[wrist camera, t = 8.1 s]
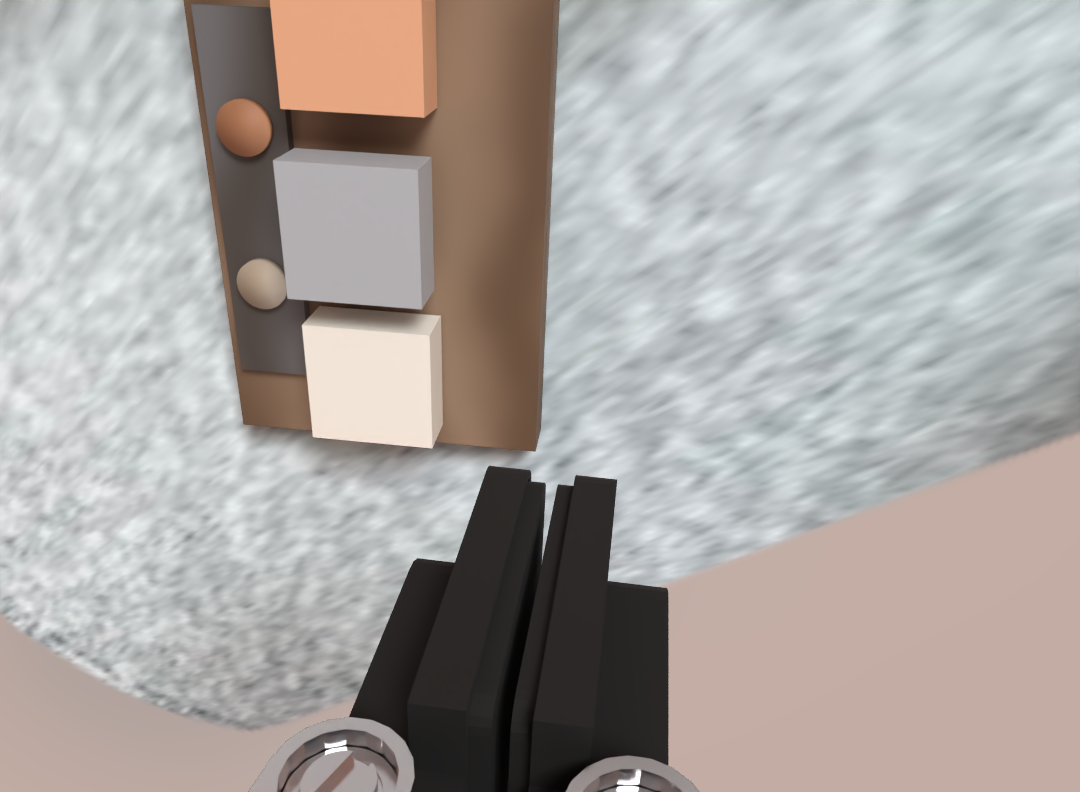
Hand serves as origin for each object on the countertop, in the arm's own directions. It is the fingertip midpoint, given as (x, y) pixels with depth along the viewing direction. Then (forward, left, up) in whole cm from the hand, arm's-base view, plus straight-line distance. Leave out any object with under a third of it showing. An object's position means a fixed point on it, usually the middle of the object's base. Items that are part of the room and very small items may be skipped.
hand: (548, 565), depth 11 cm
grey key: (+9, +2, -21) cm, 23 cm away
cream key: (+9, +9, -22) cm, 26 cm away
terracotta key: (+9, -4, -22) cm, 25 cm away
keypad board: (+9, +2, -25) cm, 26 cm away
